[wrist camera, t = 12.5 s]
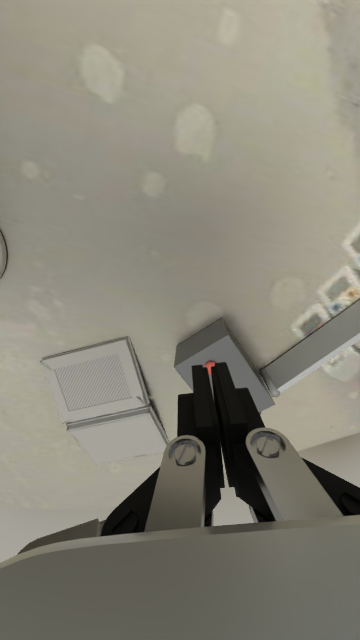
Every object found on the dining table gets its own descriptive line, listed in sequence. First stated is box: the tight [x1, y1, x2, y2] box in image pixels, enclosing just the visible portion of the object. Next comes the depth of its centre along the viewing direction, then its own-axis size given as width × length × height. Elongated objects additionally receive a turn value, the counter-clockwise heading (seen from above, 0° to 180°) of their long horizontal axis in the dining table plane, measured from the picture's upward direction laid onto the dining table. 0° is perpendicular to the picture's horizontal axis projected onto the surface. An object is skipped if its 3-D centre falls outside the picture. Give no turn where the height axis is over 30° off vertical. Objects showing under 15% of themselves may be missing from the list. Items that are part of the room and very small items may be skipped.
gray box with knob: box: [174, 318, 275, 414], centre depth 34 cm, size 14×8×7 cm, turn 35°
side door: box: [260, 300, 360, 397], centre depth 32 cm, size 20×2×6 cm, turn 133°
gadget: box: [40, 336, 169, 465], centre depth 40 cm, size 23×15×4 cm, turn 16°
